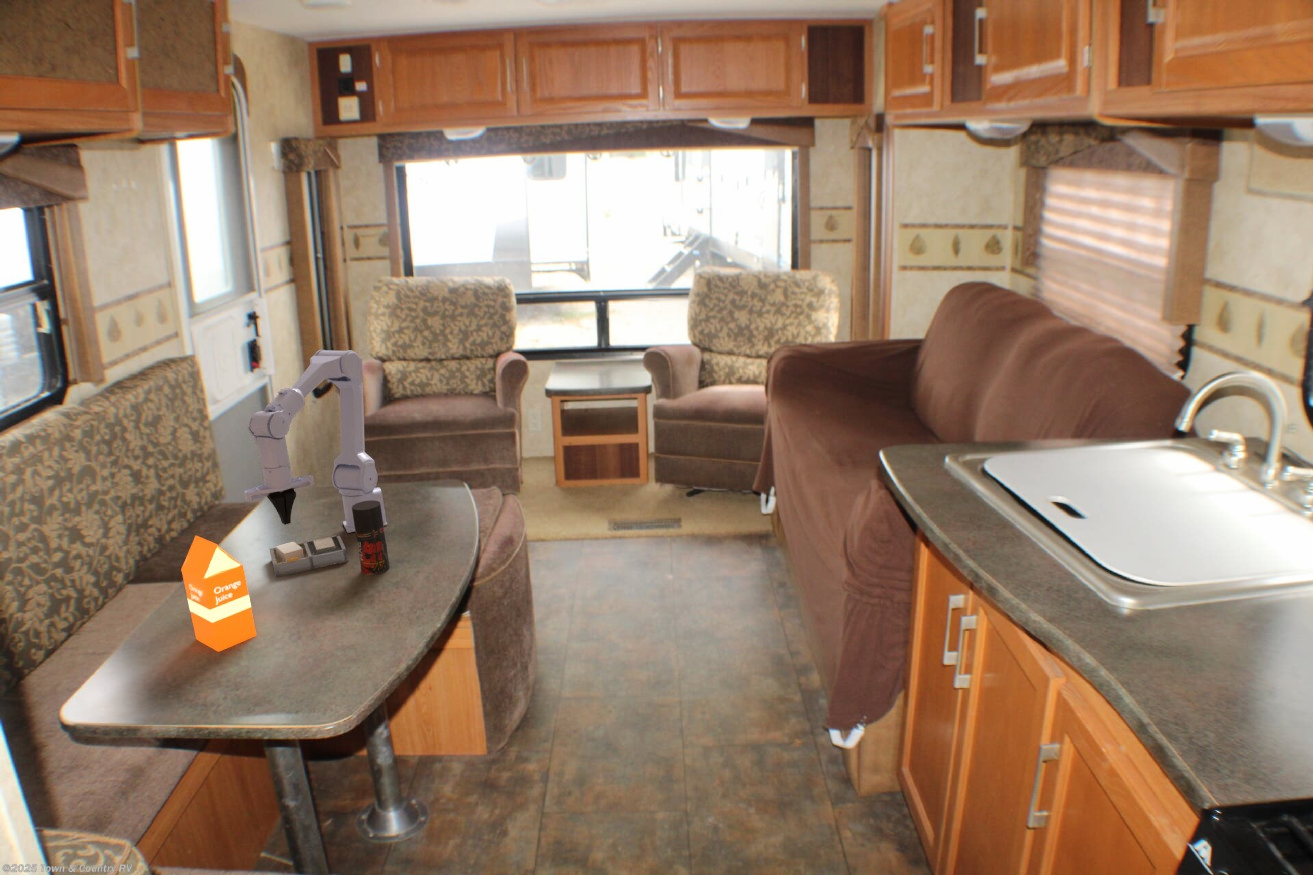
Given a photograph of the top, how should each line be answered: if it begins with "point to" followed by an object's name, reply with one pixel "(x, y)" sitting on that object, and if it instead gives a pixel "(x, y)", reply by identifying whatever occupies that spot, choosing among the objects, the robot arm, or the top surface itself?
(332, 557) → the rack
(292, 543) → the off-white upright block
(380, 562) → the deodorant
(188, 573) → the orange juice
